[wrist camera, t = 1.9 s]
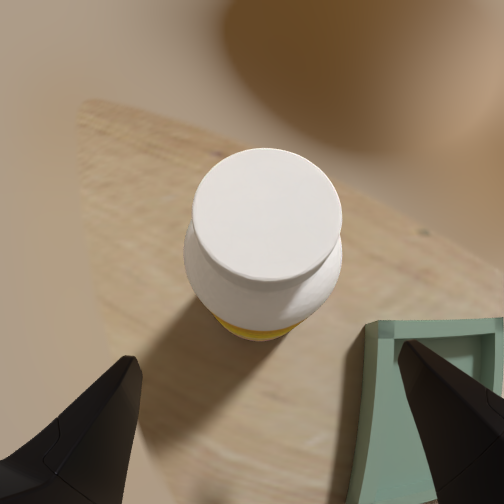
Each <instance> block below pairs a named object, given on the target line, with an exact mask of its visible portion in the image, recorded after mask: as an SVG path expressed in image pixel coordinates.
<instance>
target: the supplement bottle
mask: <svg viewBox="0 0 504 504" xmlns="http://www.w3.org/2000/svg"><path fill="white" fill-rule="evenodd" d="M341 225H342V210H341V204H340V200H339V197H338V194H337V192H336V190H335V188H334V186H333V184H332V183H331V181H330V180H329V179H328V177H327V176H326V175H325V174H324V173H323V172H322V171H321V170H320V169H319V168H318V167H317V166H315V165H314V164H313V163H311V162H310V161H308V160H307V159H305V158H303V157H301V156H299V155H297V154H294V153H291V152H288V151H284V150H280V149H272V148H257V149H250V150H245V151H242V152H239V153H236V154H233V155H231V156H229V157H227V158H225V159H223V160H222V161H221V162H219V163H218V164H217V165H215V166H214V167H213V168H212V169H211V170H210V171H209V172H208V173H207V174H206V175H205V177H204V178H203V180H202V181H201V183H200V184H199V186H198V188H197V190H196V193H195V196H194V199H193V205H192V219H191V222H190V224H189V226H188V229H187V232H186V236H185V241H184V264H185V270H186V274H187V277H188V280H189V282H190V284H191V286H192V288H193V290H194V292H195V294H196V295H197V296H198V298H199V299H200V300H201V302H202V303H203V304H204V305H205V307H206V308H207V309H208V310H209V311H210V312H211V313H212V314H213V315H214V316H215V317H216V319H217V320H218V321H219V322H220V323H221V324H222V325H223V326H224V327H225V328H226V329H227V330H228V331H230V332H231V333H233V334H234V335H236V336H238V337H240V338H243V339H246V340H251V341H268V340H272V339H275V338H278V337H280V336H283V335H284V334H286V333H288V332H289V331H290V330H292V329H293V328H295V327H296V326H297V325H299V324H300V323H301V322H303V321H304V320H305V319H307V318H308V317H309V316H310V315H312V314H313V313H314V312H315V311H316V310H317V309H318V308H319V307H320V306H321V305H322V304H323V303H324V302H325V301H326V300H327V298H328V297H329V295H330V294H331V292H332V291H333V289H334V287H335V285H336V282H337V280H338V277H339V274H340V270H341V263H342V245H341V239H340V231H341Z"/></svg>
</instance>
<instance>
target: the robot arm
mask: <svg viewBox="0 0 504 504" xmlns="http://www.w3.org/2000/svg"><path fill="white" fill-rule="evenodd" d="M398 366H399V370H400V374H401V378H402V382H403V386H404V390H405V394H406V398H407V401H408V404H409V407H410V410H411V413H412V415H413V418H414V421H415V424H416V427H417V430H418V433H419V436H420V439H421V443H422V446H423V449H424V452H425V456H426V459H427V462H428V466H429V469H430V473H431V476H432V480H433V484H434V487H435V491H436V496H437V500H438V504H504V399H503V398H502V397H500V396H499V395H497V394H496V393H494V392H493V391H491V390H490V389H488V388H486V387H485V386H484V385H482V384H481V383H480V382H478V381H477V380H475V379H474V378H472V377H471V376H469V375H468V374H466V373H465V372H463V371H462V370H460V369H459V368H458V367H456V366H455V365H453V364H452V363H450V362H449V361H447V360H446V359H444V358H443V357H441V356H440V355H438V354H437V353H435V352H434V351H432V350H431V349H429V348H428V347H426V346H425V345H423V344H422V343H420V342H419V341H417V340H416V339H411V340H406V341H404V343H403V345H402V348H401V350H400V353H399V356H398ZM142 378H143V376H142V371H141V369H140V366H139V364H138V361H137V359H136V357H135V356H126V355H125V356H122V357H121V358H120V359H119V360H118V361H117V362H116V363H115V364H114V365H112V366H111V367H110V368H109V369H108V370H107V371H106V372H105V373H104V374H103V375H102V376H101V377H100V378H98V379H97V380H96V381H95V382H94V383H93V384H92V385H91V386H90V387H89V388H88V389H87V390H86V391H85V392H83V393H82V394H81V395H80V396H79V397H78V398H77V399H76V400H75V401H74V402H73V403H72V404H70V405H69V406H68V407H67V408H66V409H65V410H64V411H63V412H62V413H61V414H60V415H59V416H58V418H55V419H54V420H53V421H52V422H51V423H50V424H49V425H48V426H47V427H46V428H44V429H43V430H42V431H41V432H40V433H39V434H37V435H36V436H35V437H34V438H32V439H31V440H30V441H29V442H27V443H26V444H25V445H23V446H22V447H21V448H19V449H18V450H16V451H15V452H14V453H13V454H11V455H10V456H8V457H7V458H5V459H3V460H0V504H122V498H123V493H124V487H125V481H126V475H127V470H128V464H129V459H130V453H131V449H132V444H133V439H134V435H135V430H136V425H137V420H138V414H139V405H140V396H141V387H142Z"/></svg>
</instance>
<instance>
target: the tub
mask: <svg viewBox="0 0 504 504" xmlns="http://www.w3.org/2000/svg"><path fill="white" fill-rule="evenodd" d="M411 339H416V340H417V341H419V342H420V343H422V344H423V345H425V346H426V347H428V348H429V349H431V350H432V351H434V352H435V353H437V354H438V355H440V356H441V357H443V358H444V359H446V360H447V361H449V362H450V363H452V364H453V365H455V366H456V367H458V368H459V369H460V370H462V371H463V372H465V373H466V374H468V375H469V376H471V377H472V378H474V379H475V380H477V381H478V382H480V383H481V384H482V385H484V386H485V387H486V388H488V389H490V390H491V391H493V392H494V393H496V394H497V395H499V396H500V397H501V394H502V382H503V363H504V325H503V317H501V318H484V319H461V320H408V321H398V320H378V321H375V322H372V323H369V324H366V325H365V345H364V366H363V381H362V394H361V405H360V415H359V423H358V432H357V439H356V447H355V454H354V460H353V466H352V472H351V478H350V483H349V489H348V494H347V499H346V503H345V504H421V503H425V502H428V501H432V500H435V499H437V496H436V491H435V487H434V484H433V480H432V476H431V473H430V469H429V466H428V462H427V459H426V456H425V452H424V449H423V446H422V443H421V439H420V436H419V433H418V430H417V427H416V424H415V421H414V418H413V415H412V413H411V410H410V407H409V404H408V401H407V398H406V394H405V390H404V386H403V382H402V378H401V374H400V370H399V366H398V356H399V353H400V350H401V348H402V345H403V343H404V341H406V340H411Z"/></svg>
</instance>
